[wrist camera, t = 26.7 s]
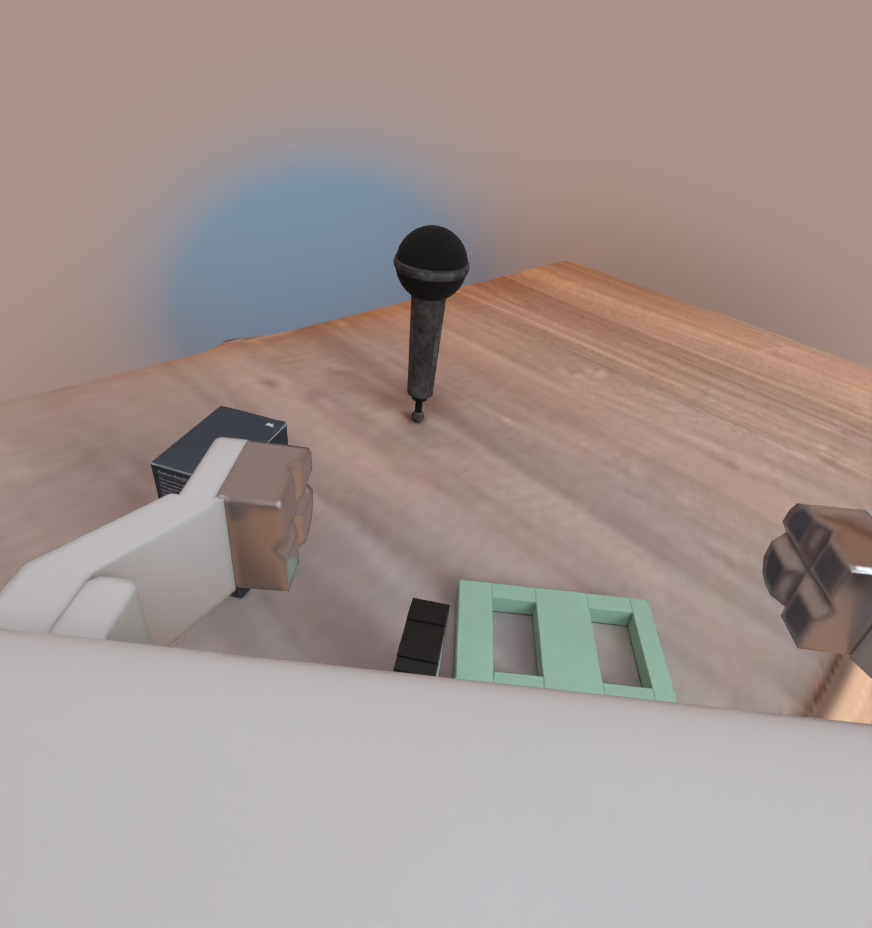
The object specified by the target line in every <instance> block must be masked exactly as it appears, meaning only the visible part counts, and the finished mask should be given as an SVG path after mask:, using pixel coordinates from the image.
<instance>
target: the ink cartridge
mask: <svg viewBox="0 0 872 928" xmlns="http://www.w3.org/2000/svg"><path fill="white" fill-rule="evenodd" d="M449 607H450V605H447V604H442V603H437V602H432V601H427V600H422V599H417V598H413V600H412V603H411V606H410V609H409V613H408V616H407V620H406V624H405V628H404V631H403V635H402V639H401V642H400V645H399V649H398V653H397V658H396V662H395V666H394V672H402V673H411V674H420V675H429V676H438V677H439V670H440V664H441V658H442V651H443V645H444V639H445V632H446V626H447V620H448V614H449Z"/></svg>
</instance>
